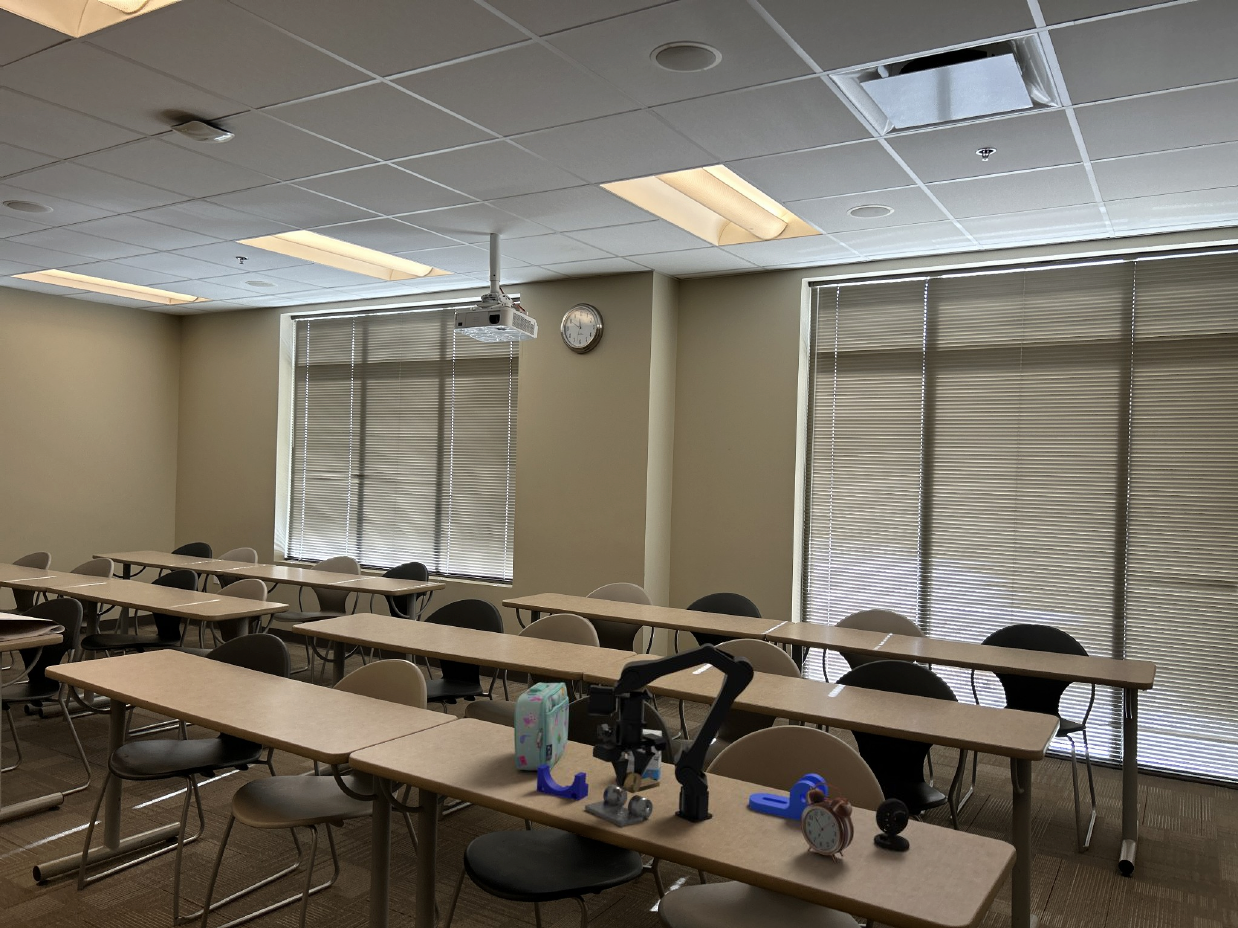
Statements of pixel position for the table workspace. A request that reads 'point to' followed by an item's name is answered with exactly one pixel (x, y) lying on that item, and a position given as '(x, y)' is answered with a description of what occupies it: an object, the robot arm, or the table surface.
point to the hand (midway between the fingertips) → (628, 783)
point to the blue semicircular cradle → (551, 787)
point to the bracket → (788, 799)
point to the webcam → (892, 825)
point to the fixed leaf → (621, 807)
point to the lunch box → (541, 725)
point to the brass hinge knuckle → (637, 783)
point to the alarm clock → (827, 822)
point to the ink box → (654, 765)
